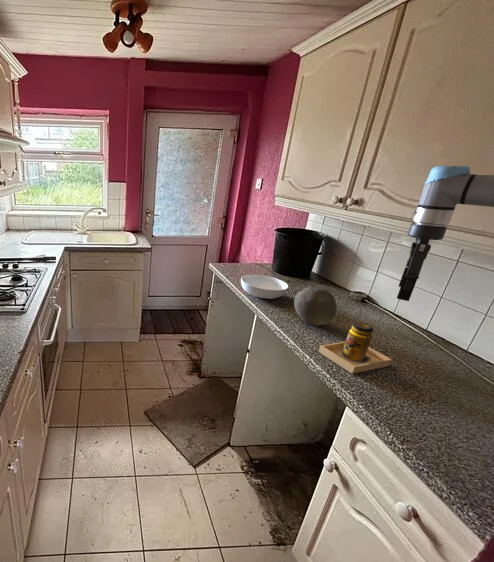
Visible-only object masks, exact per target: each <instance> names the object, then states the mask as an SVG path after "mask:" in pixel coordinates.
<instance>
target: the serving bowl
mask: <svg viewBox="0 0 494 562" xmlns="http://www.w3.org/2000/svg"><path fill="white" fill-rule="evenodd" d="M240 285H241V287H242V289H243V290H244V291H245V292H246V293H247V294H249V295H251V296H254V297H255V298H256V297H257V298H260V299H270V300H273V299H277V298H280V297H283V296H284V295H285V294H286V293H287V291H288V289H289V285H288V284H287V283H286V282H285V281H283V280H281V279H278V278H276V277H272V276H267V275H262V274H247V275H243V276H241V278H240Z"/></svg>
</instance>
